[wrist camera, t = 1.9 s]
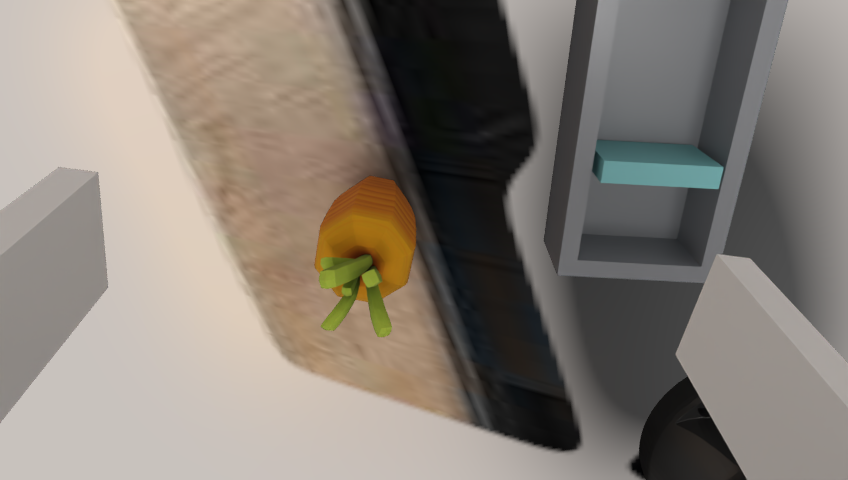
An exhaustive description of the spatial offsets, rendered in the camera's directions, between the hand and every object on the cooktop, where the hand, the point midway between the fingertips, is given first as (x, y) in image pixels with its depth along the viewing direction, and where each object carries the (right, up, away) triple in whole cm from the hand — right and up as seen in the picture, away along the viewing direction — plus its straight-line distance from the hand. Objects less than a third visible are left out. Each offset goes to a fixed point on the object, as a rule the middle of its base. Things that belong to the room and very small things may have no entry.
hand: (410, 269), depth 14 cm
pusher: (+13, +6, +24) cm, 28 cm away
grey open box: (+13, +8, +24) cm, 28 cm away
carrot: (-2, +4, +26) cm, 27 cm away
